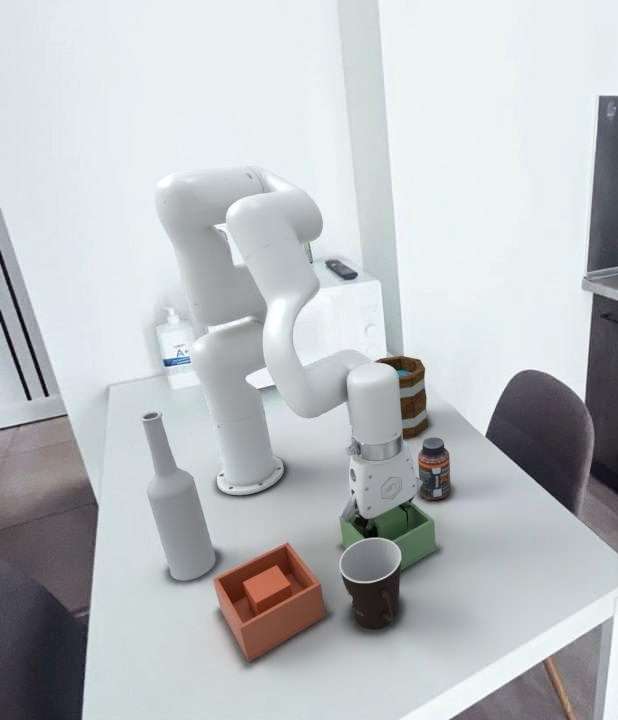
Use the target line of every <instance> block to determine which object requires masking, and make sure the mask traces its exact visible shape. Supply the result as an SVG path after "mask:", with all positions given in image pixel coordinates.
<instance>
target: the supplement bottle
mask: <svg viewBox="0 0 618 720" xmlns="http://www.w3.org/2000/svg"><path fill="white" fill-rule="evenodd" d="M417 459H418V460H417V463H418V478H419V479H420V480H421V481H422V482H423V484H422V485H421V487H420V488H419V491H420V495H421V496H422V497H423V498H424V499H427V500H430V501H439V500H442V499H445V498H446V497H448V495H449V494H450V492H451V463H450V462H451V460H450V459H451V457H450V452H449V450H448V449H447V448H446V447H445V441H444V440H443V439H442V438H440V437H438V436H431V437H428V438H425V439H424V440H423V441H422V448H421V450H419V452H418V454H417Z"/></svg>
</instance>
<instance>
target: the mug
mask: <svg viewBox="0 0 618 720" xmlns="http://www.w3.org/2000/svg"><path fill="white" fill-rule="evenodd" d="M374 362H376V363H384V364H387V365H390V366H391V367H393V368H394V369H395V370H396V372H397V374H398V377H399V389H400V404H401V418H402V431H403V440H404V439H410V438H414V437H418V436H419V435H420V434H421V433H422V432H423V431H424V430H426V429H427V428H428V427H429V422H428V417H427V415H428V414H427V400H428V399H427V398H428V397H427V392H426V381H425V378H426V377H425V376H426V367H425V365H424V364H423V362H422V359H419V358H414V357H410V356H406V355H405V356H404V355H398V356H390V357H383V358H379V359H377V360H374ZM345 405H346V407H347V408H346V409H347V414H348V421H349V425H350V426H351V417H350V409H349V401H347V402H345Z"/></svg>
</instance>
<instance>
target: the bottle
mask: <svg viewBox="0 0 618 720" xmlns="http://www.w3.org/2000/svg"><path fill="white" fill-rule="evenodd" d="M162 417H163V413H162V411H158V410H155V411H152V410H151V411H148V412H146V413H143V414H142V415H141V416H140V417H139V420H140V421H141V422H142V423H141V424H142V426H143V430H144V434H145V437H146V440H147V444H148V447H149V451H150V454H151V460H152V464H153V468H154V476H153V477H152V479H151V480H150V482H149V483H148V486H147V489H146V495H147V498H148V501H149V505H150V510H151V512H152V515H153V518H154V522H155V526H156V529H157V532H158V536H159V539H160V542H161V546H162V550H163V552H164V556H165V559H166V562H167V565H168V567H169V571H170V575H171V577H172V578H173V579H174V580H176V581H181V582H184V581H187V582H188V581H192V580H194V579H198V578H200V577H203V576H204V575H205V574H207V573H208V572H210V570H211V569H213V567H214V566H215V564H216V560H217V559H216V555H215V551H214V547H213V543H212V539H211V535H210V531H209V527H208V524H207V522H206V518H205V514H204V509H203V507H202V504H201V499H200V495H199V492H198V489H197V486H196V481H195V477H194V476H193V475H192V474H191V473H190V472H188V471H186V470H184V469H182V468H180V467H178V465H177V463H176V460H175V457H174V455H173V451H172V449H171V446H170V442H169V440H168V435H167V433H166V429H165V426H164V422H163V419H162Z"/></svg>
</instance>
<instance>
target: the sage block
mask: <svg viewBox="0 0 618 720" xmlns="http://www.w3.org/2000/svg"><path fill="white" fill-rule="evenodd" d="M374 526H375V527H376V528H377V535H378V538H384V539H388V540H390V541H393V540H395V539H397V538H398V537H400V536H402V535H404V534H406V533H407V532H408V531H407V517H406V512H404V511H403V510H402V509H401V508H400V507H399V506H396V507H394V508H392V509H390V510H388V511H386V512H384V513H382V514H380V515H378V516H376V517H375V521H374Z"/></svg>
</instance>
